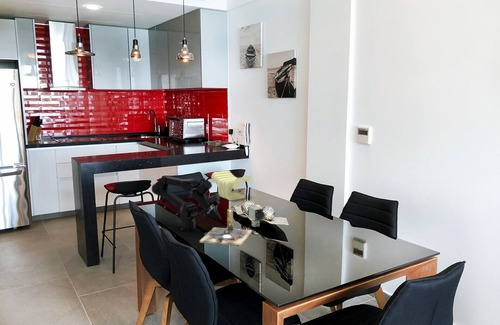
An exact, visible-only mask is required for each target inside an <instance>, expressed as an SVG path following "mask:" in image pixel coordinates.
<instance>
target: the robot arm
mask: <svg viewBox="0 0 500 325" xmlns="http://www.w3.org/2000/svg"><path fill="white" fill-rule="evenodd" d="M170 185H171V186H174V187H175V186H176V187H180V188H181V189H182V190H183V191H186V192H188V199H190V198H191V197H192V198H193V199H194V200H195V201H196V203H194V202H192V201H187V202H186V201H184V200H183V199H182V198H180V197H179V196H177V195H176V194H175V193H173V192H172V191H171V190H170V188H169V186H170ZM212 187H213V185H212V181H209V180H208V179H206V178H205V177H203V178H201V179H200V181H197V179H196V178H188V179H184V178H183V179H182V178H178V177H173V176H170V175H166V176H162V177H161V178H160V179H159V180H158V181H156V182H155V183H154V184H152V186H151V191H152V193H153V194H154V195H156V196H158V197H163V198H164V199H166V200H167V201H168V202H170V203H172V204H173V205H174V206H175V207H177V208H178V209H179V210H180V213H181V214H179V221H180V220H181V229H180V230H181V231H187V232H188V231H189V232H192V231H193V230H195V229H196V220H195V218H197V216H198V213H199V216H200V217H201V218H204V216H207V217H211V218H213V219H215V220H217V221H218V220H219V221H220V220H222V217H221V215H220V213H219V211H218V205H219V203H220V199H221V197H220V196H219V192H216V191H215V192H213V193H212V195H211V196H209V195H206V194H207V193H208V192H209V191H210V189H211V188H212ZM197 206H200V207H201V208H202V210H200V212H199V209H198V207H197Z"/></svg>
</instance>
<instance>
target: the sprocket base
mask: <svg viewBox="0 0 500 325" xmlns="http://www.w3.org/2000/svg"><path fill="white" fill-rule="evenodd" d="M218 228H220V229H223V228H224V227H212V229H211V230H209V231H208V232H207V233H206V234H205V235H204V236H203V237H202V238H201V239H200V240H199V243H201V244H202V243H203V244H213V245H226V246H237V245H239V246H240V247H242V246H243V245H244V243H245V242H246V240H247V239H248V238H249V236H251V233H252V232H253V231H252V230H251V229H239V228H237V229H238V230H243V232H245V235H243V237H242V238H237V240H233V239H232V240H227V241H225V240H222V238H219V240H216V239H215V238H210V236H212V235H209V233H212V232H211V231H212V230H218ZM239 246H238V247H239Z"/></svg>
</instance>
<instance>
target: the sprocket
mask: <svg viewBox="0 0 500 325" xmlns="http://www.w3.org/2000/svg"><path fill="white" fill-rule="evenodd" d="M233 210H234V209H233V208H227V211H226V214H227V216H226V217H227V218H226V221H227V223H226V224H227V227H222V228H223V229H220V228H221V227H217V228H218V230H212V229H211V230H212V231H211V230H210V231H211V232H212V233H209V235H212V236H210V238H215V239H216V240H219V238H222V240H225V241H227V240H232V239H233V240H237V238H242V237H243V235H245V232H243V230H244V229H242V230H238V229H239V228H237V227H234V211H233Z"/></svg>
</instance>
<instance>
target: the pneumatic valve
mask: <svg viewBox="0 0 500 325" xmlns="http://www.w3.org/2000/svg"><path fill="white" fill-rule="evenodd" d="M247 207H248V209H247V214H248V215H247V216H248V218H250V219H252V220H251V227H254V228H256V227H258V228H259V227H260V221H263V218H264V217H265V214H264V209H263V208H262V207H261V206H257V205H249V206H247Z"/></svg>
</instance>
